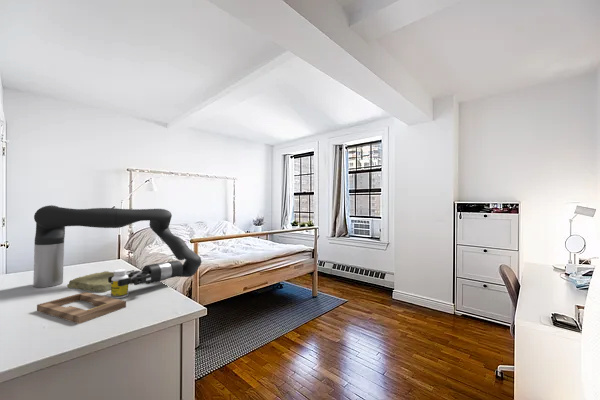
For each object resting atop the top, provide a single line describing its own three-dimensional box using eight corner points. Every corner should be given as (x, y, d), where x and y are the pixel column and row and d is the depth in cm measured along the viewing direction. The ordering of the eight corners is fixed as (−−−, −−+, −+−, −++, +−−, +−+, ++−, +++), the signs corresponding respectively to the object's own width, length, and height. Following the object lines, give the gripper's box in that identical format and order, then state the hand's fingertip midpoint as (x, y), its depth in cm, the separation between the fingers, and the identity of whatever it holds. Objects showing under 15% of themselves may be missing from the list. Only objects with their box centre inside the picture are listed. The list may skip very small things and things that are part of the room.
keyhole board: (36, 311, 87) (37, 304, 87) (85, 297, 100) (85, 291, 100) (79, 323, 79) (79, 316, 79) (125, 307, 92) (126, 300, 92)
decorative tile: (104, 277, 128) (104, 270, 128) (140, 280, 124) (141, 273, 124) (62, 289, 110) (62, 280, 110) (103, 294, 106) (103, 284, 106)
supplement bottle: (107, 297, 100) (108, 271, 101) (121, 293, 106) (122, 267, 106) (117, 299, 99) (118, 272, 99) (131, 295, 104) (132, 269, 104)
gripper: (148, 261, 118) (104, 268, 104) (167, 265, 110) (123, 274, 96) (147, 278, 118) (104, 288, 104) (167, 284, 110) (122, 295, 96)
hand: (113, 281), depth 100 cm, fingers open, 7 cm apart
